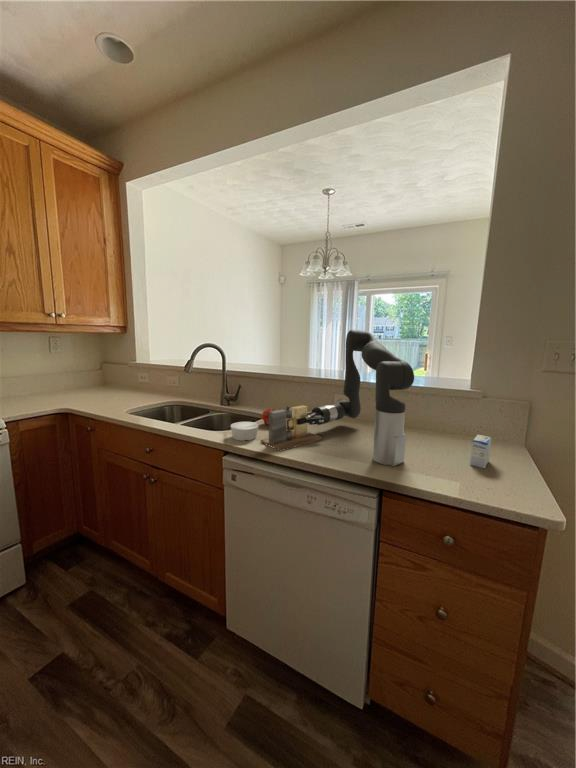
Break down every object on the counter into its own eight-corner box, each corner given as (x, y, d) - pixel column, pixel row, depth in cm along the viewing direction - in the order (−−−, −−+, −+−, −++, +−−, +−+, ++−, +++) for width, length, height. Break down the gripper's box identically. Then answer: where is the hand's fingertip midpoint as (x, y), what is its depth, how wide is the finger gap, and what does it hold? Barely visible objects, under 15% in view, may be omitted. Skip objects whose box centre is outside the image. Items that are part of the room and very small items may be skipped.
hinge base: (321, 439, 128) (322, 404, 126) (280, 451, 114) (280, 412, 112) (301, 432, 137) (301, 399, 135) (260, 442, 123) (260, 406, 121)
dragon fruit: (263, 425, 152) (281, 434, 144) (253, 418, 146) (272, 427, 138) (272, 410, 154) (290, 418, 146) (262, 402, 148) (281, 410, 140)
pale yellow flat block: (307, 435, 129) (307, 406, 127) (289, 440, 122) (289, 410, 120) (302, 433, 131) (302, 405, 129) (284, 438, 125) (283, 409, 123)
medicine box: (474, 458, 110) (476, 434, 109) (489, 461, 107) (492, 436, 106) (469, 465, 104) (472, 439, 103) (485, 468, 101) (488, 442, 100)
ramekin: (253, 443, 122) (253, 430, 121) (226, 441, 124) (226, 428, 124) (261, 434, 133) (261, 422, 132) (236, 432, 135) (236, 420, 134)
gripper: (313, 403, 141) (283, 408, 130) (337, 408, 130) (307, 415, 119) (312, 419, 142) (283, 426, 131) (336, 426, 132) (306, 434, 120)
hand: (294, 421), depth 125 cm, fingers closed on pale yellow flat block, 3 cm apart
